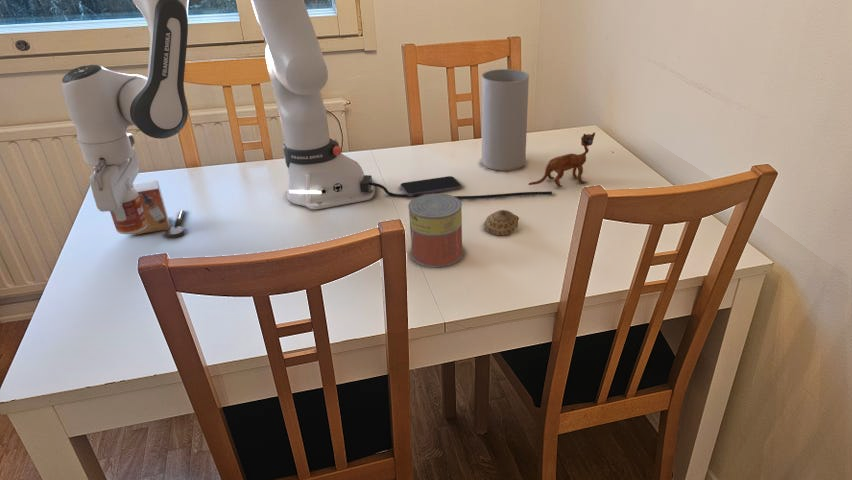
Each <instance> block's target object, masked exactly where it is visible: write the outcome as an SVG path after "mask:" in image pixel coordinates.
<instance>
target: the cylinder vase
mask: <svg viewBox="0 0 852 480" xmlns="http://www.w3.org/2000/svg"><path fill="white" fill-rule="evenodd" d="M529 81H530V75H529V74H528V73H527V72H525V71H522V70H517V69H509V68H508V69H507V68H503V69H502V68H501V69H500V68H498V69H492V70H491V69H490V70H487V71H485V72H483V73H482V75H481V163H482V164H483V166H484V167H486V168H488V169H490V170H493V171H500V172H507V171H515V170H518V169H520V168H522V167H523V166H524V165H525V164H526V157H527V154H526V153H527V132H528V106H529V104H528V103H529V83H530V82H529Z"/></svg>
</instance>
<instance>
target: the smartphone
mask: <svg viewBox="0 0 852 480" xmlns="http://www.w3.org/2000/svg"><path fill="white" fill-rule="evenodd" d="M461 184H462V183H461ZM461 184H460V182H459V181H458V180H457V179H456V177H454V176H452V175H451V176H450V175H448V176H442V177H435V178H427V179H420V180H413V181H407V182H406V181H405V182H402V183H400V188H401V189H402V191H403V192H404V194H407V195H408V196H413V195H414V194H424V195H426V194H434V193H441V192H447V191H448V192H449V191H454V190H455V191H456V190H460V189H461V188H462V187H461V186H462V185H461Z"/></svg>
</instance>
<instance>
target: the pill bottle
mask: <svg viewBox="0 0 852 480" xmlns="http://www.w3.org/2000/svg"><path fill="white" fill-rule="evenodd" d="M125 185H126V188H127V189H128V193H127V194H126V196H125V198H124V200H123V202H122V204H123V205H122V207H123V209H124V210H126V212H127V218H126V220H125V221H118V220H117V219H116V216H115V214H114V213H113V212H112V211H109V213H110V215H111V219H112V222H113V225H114V227H115V230H116V232H117V233H119V234H121V235H133V234H134V233H137V232H140V231H142V230H144V229H145V228H146V227H147V220H146V217H145V214H144V211H143V207H142V204H141V201H140V198H139V195H138V192H137V190H136V189H134V188H132V187H131V182H130V179H129V178H128V179H127V181H126V183H125Z"/></svg>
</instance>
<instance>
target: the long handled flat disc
mask: <svg viewBox="0 0 852 480" xmlns="http://www.w3.org/2000/svg"><path fill="white" fill-rule="evenodd" d="M184 214H185V210H184V209H180V210H179V213H178V215H177V218H176V221H175V224H174V226H171V227H170V228H169V229H167V230H164V231H165V232H164V233H165V236H166V237H167V238H169V239H175V238H180V237H182V236H183V235H184V234H185V229H184V227H183V226H181V224H182V220H183V218H184Z"/></svg>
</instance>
